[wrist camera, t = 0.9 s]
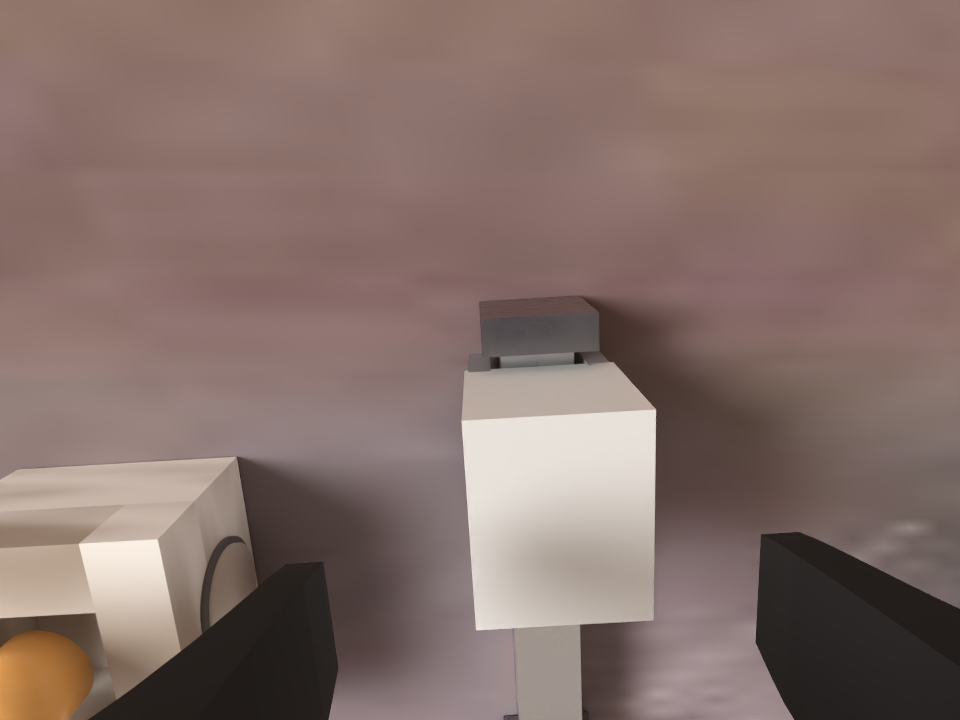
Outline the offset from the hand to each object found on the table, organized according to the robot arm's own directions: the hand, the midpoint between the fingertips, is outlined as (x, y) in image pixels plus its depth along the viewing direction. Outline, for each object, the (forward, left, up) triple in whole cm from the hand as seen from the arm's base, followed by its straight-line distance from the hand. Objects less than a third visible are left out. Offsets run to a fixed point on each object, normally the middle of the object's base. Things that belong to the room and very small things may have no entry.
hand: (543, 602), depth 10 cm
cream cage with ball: (-4, +12, -10) cm, 16 cm away
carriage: (0, -1, -10) cm, 10 cm away
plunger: (-4, +12, -4) cm, 14 cm away
